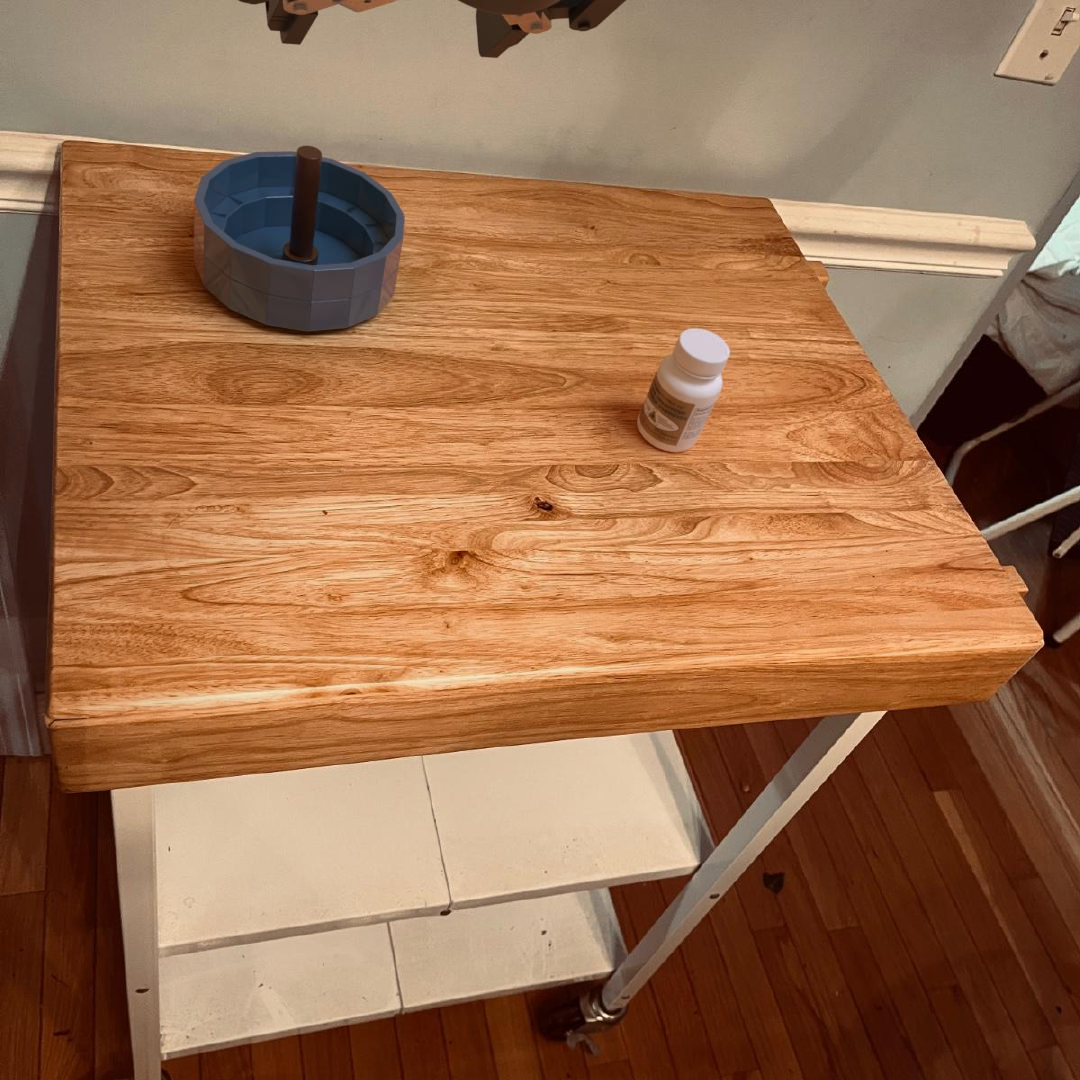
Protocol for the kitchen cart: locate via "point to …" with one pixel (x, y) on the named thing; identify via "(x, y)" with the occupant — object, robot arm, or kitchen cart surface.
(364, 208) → the bowl
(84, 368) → the kitchen cart surface
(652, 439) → the pill bottle
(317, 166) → the brown rubber stamp
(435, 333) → the kitchen cart surface
